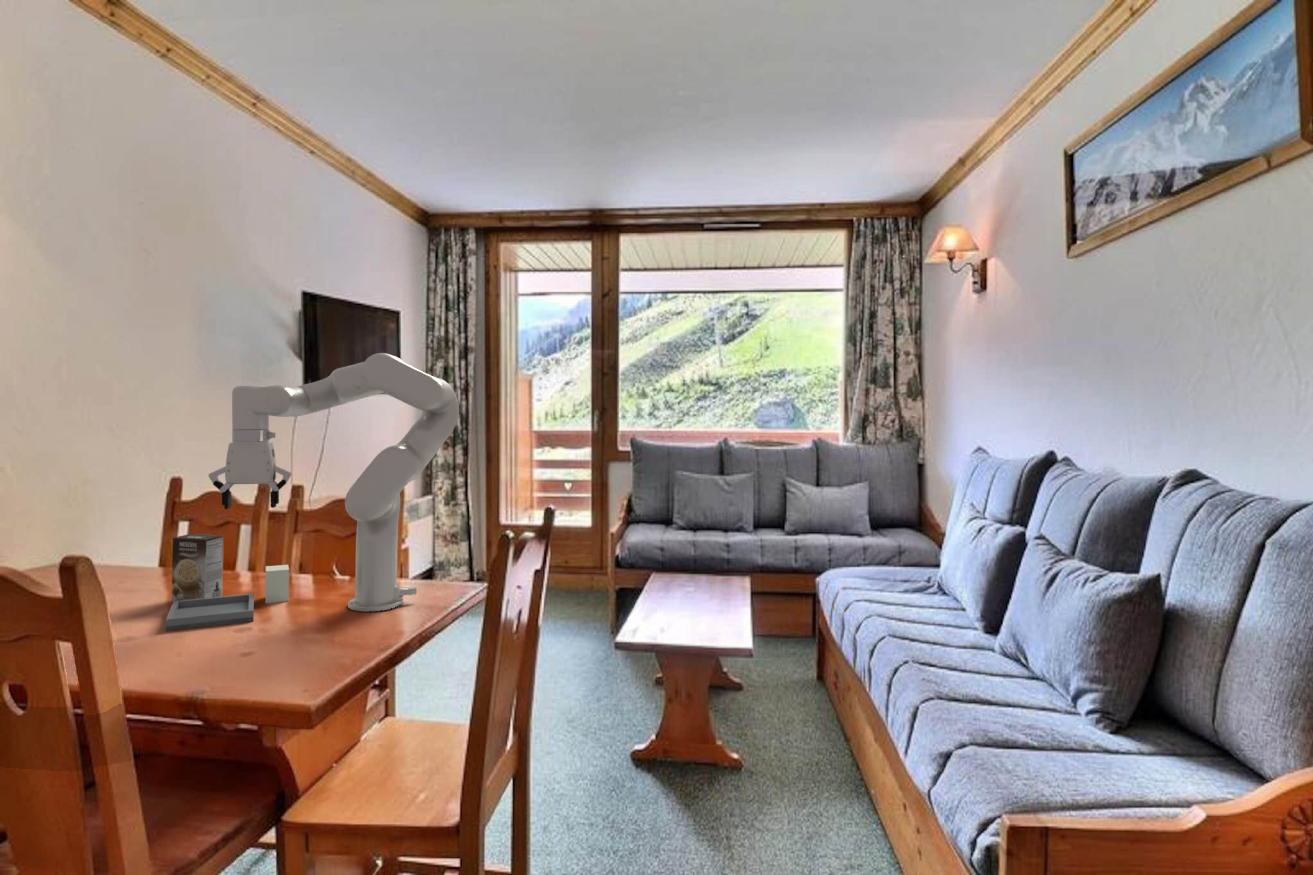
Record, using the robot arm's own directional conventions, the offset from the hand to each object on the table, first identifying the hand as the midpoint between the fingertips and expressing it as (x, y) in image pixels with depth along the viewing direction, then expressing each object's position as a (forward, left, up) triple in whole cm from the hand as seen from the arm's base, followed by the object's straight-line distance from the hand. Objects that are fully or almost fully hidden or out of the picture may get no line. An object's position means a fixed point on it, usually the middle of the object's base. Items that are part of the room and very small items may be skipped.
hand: (250, 507), depth 160 cm
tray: (+7, +6, -24) cm, 26 cm away
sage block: (-6, -4, -24) cm, 25 cm away
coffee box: (+11, -11, -24) cm, 29 cm away
